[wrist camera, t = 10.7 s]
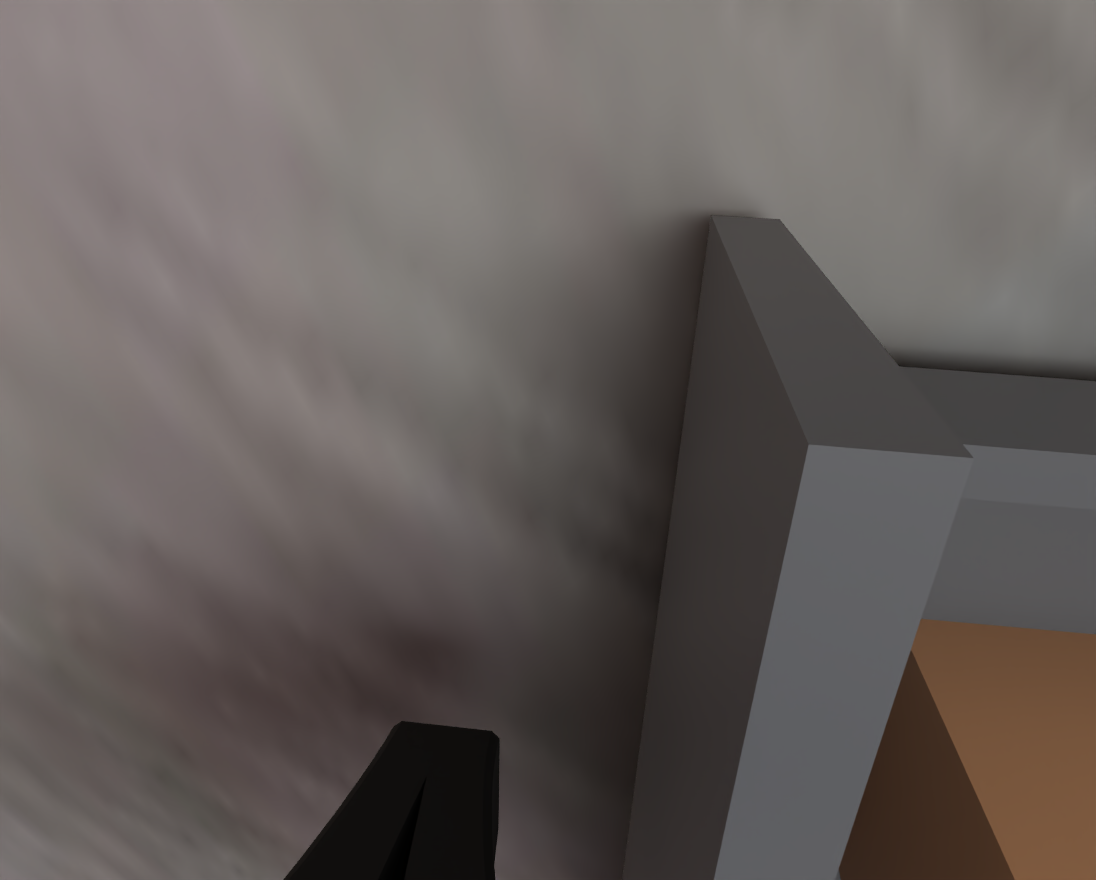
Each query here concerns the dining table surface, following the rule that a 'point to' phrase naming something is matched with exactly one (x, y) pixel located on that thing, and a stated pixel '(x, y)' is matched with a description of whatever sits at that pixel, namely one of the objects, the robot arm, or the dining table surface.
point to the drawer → (831, 558)
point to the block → (984, 761)
